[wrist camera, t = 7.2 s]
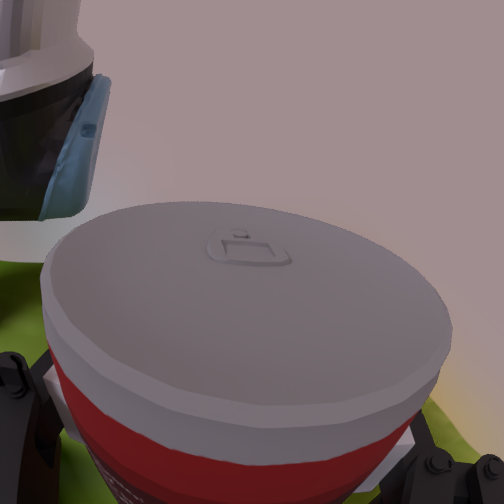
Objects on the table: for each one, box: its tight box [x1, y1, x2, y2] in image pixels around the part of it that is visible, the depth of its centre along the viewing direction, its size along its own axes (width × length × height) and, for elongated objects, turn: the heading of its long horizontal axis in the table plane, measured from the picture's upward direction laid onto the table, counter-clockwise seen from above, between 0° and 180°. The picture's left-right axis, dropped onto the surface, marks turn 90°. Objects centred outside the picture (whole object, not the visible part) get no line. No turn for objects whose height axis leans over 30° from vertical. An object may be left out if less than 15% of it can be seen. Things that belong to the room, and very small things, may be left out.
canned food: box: [40, 202, 452, 504], centre depth 8 cm, size 8×8×11 cm
